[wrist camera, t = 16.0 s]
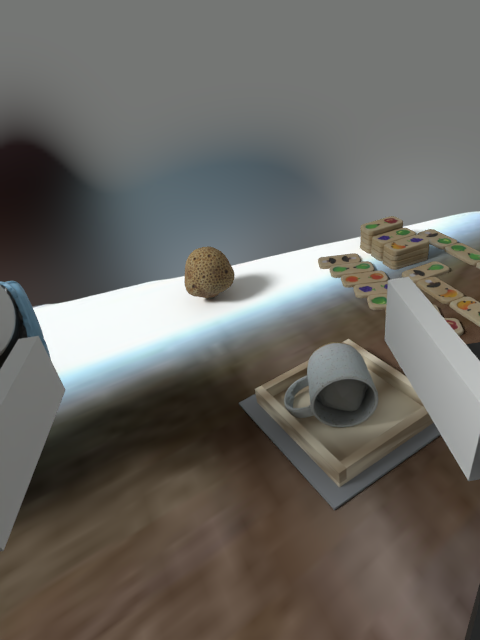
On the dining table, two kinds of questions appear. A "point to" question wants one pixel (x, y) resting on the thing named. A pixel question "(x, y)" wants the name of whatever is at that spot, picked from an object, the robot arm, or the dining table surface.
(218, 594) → the dining table surface
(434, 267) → the pile of dominoes
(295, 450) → the mat
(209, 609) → the dining table surface
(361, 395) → the ceramic mug
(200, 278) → the natural sponge
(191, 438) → the dining table surface
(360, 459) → the tray
